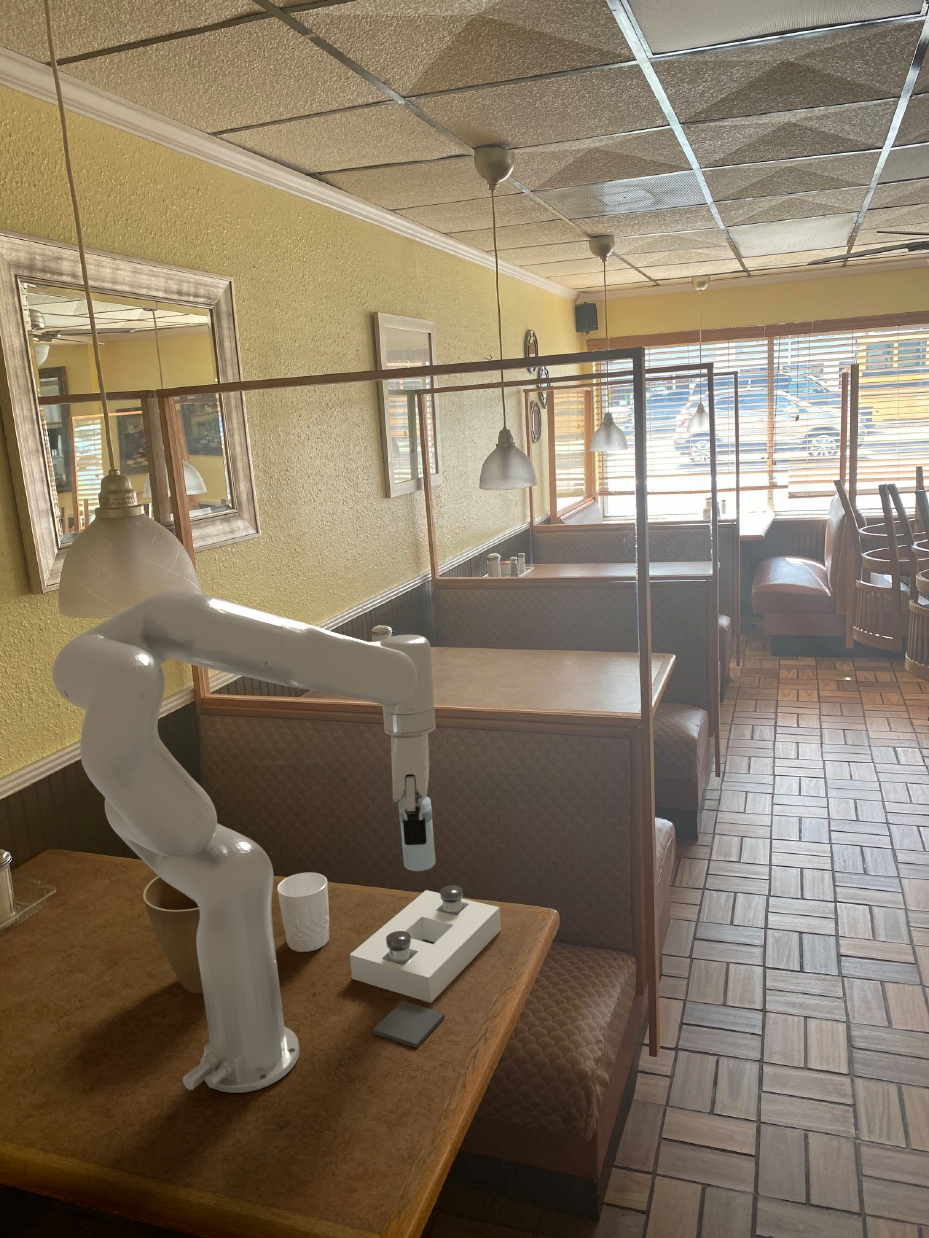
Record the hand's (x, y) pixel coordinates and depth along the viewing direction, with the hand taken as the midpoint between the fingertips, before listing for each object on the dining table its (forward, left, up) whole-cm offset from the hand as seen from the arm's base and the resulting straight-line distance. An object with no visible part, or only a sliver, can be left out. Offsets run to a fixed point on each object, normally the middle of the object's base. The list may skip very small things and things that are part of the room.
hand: (416, 834), depth 138 cm
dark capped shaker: (+8, 0, -19) cm, 21 cm away
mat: (-16, -7, -20) cm, 26 cm away
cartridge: (0, 0, -5) cm, 5 cm away
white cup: (-5, +20, -20) cm, 29 cm away
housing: (0, 0, -20) cm, 20 cm away
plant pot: (-20, +27, -20) cm, 39 cm away
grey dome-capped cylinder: (-7, 0, -19) cm, 20 cm away
